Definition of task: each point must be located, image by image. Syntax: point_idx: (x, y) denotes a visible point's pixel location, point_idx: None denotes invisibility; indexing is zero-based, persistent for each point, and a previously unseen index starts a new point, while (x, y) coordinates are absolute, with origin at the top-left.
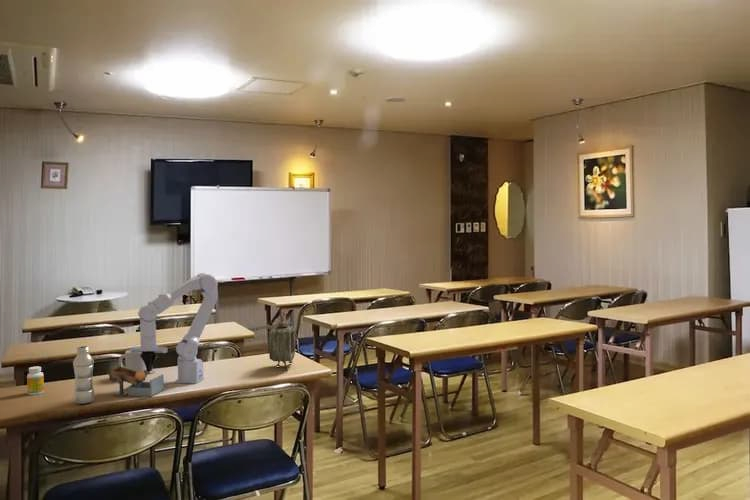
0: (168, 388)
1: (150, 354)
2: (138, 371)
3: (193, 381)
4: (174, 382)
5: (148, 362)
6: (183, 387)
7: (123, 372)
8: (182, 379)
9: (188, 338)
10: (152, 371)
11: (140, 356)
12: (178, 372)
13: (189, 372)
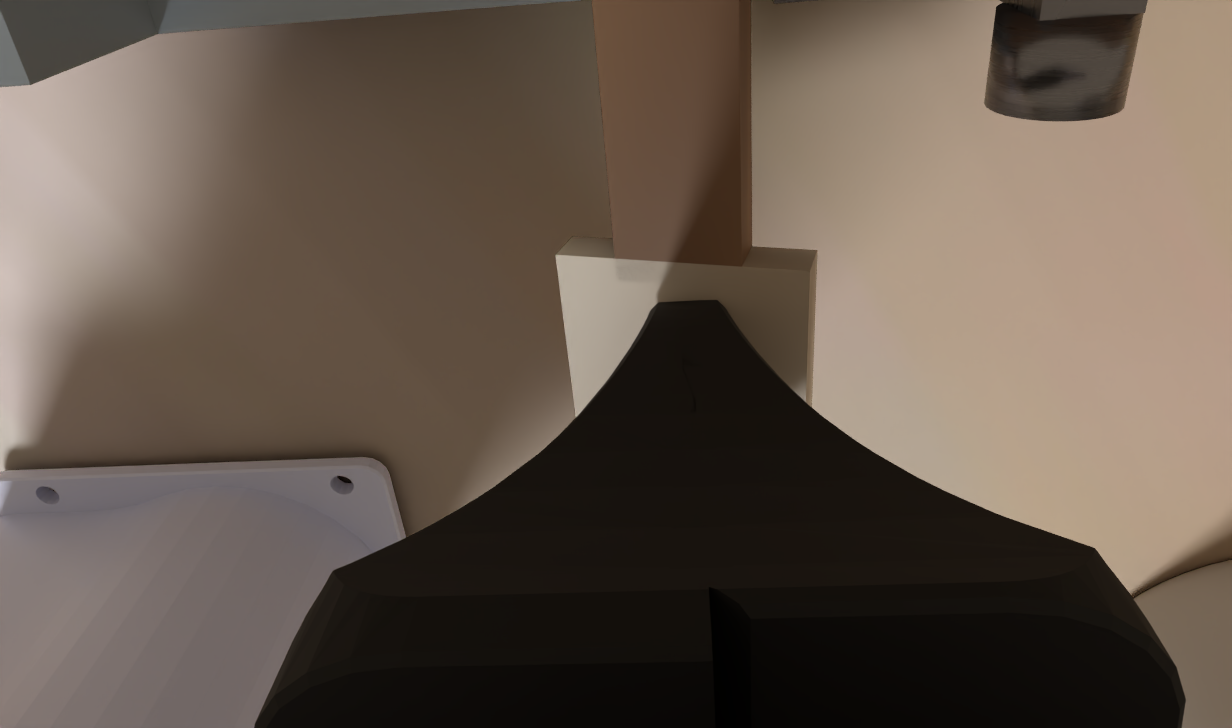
0: (220, 143)
1: (277, 682)
2: (1223, 694)
3: (55, 514)
4: (364, 460)
5: (613, 428)
6: (4, 251)
7: None
8: (209, 512)
9: None
10: None
11: (1088, 548)
12: (269, 629)
13: (21, 628)
